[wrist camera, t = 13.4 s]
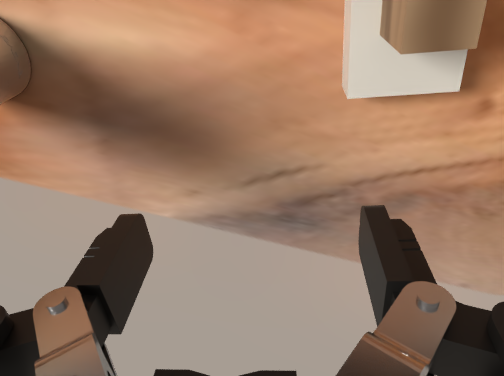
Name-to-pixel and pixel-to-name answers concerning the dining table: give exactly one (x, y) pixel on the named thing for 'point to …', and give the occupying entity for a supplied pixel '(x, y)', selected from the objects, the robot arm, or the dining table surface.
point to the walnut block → (431, 24)
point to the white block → (391, 60)
